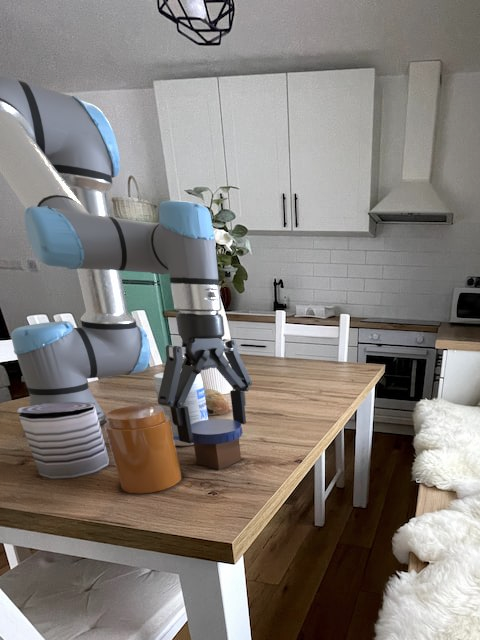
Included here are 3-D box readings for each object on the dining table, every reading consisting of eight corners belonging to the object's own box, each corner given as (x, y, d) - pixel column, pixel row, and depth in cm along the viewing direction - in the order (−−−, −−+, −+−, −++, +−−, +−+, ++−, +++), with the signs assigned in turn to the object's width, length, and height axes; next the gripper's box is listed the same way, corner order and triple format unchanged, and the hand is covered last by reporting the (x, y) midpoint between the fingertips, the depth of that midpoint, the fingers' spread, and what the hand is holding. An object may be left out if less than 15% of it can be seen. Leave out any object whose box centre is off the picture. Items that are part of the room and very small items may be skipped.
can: (21, 476, 70) (-3, 410, 65) (72, 453, 80) (54, 395, 75) (80, 481, 69) (59, 414, 64) (123, 457, 79) (109, 398, 74)
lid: (252, 435, 77) (251, 425, 76) (208, 448, 70) (206, 438, 69) (222, 424, 83) (221, 415, 82) (178, 436, 75) (176, 426, 75)
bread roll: (193, 428, 108) (187, 405, 102) (193, 404, 114) (188, 381, 108) (230, 426, 111) (227, 403, 105) (229, 402, 117) (226, 380, 111)
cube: (196, 463, 77) (191, 429, 74) (219, 454, 82) (215, 421, 79) (219, 470, 75) (214, 435, 72) (241, 459, 80) (237, 426, 77)
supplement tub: (215, 442, 88) (206, 376, 82) (170, 450, 83) (157, 380, 77) (204, 431, 96) (195, 369, 89) (162, 437, 91) (149, 372, 84)
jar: (111, 482, 69) (91, 412, 63) (164, 465, 76) (150, 401, 70) (137, 499, 64) (117, 424, 58) (192, 479, 70) (178, 410, 65)
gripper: (148, 316, 55) (174, 455, 65) (264, 311, 75) (271, 418, 85) (114, 313, 58) (144, 447, 68) (235, 309, 78) (245, 413, 88)
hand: (215, 431), depth 76 cm, fingers open, 13 cm apart
